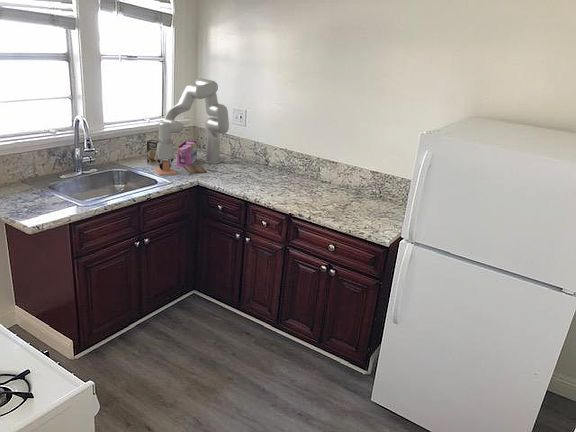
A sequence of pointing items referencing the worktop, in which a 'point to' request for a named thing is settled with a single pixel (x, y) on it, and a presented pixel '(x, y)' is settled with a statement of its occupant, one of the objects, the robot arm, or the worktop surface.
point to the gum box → (187, 153)
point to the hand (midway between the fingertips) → (165, 168)
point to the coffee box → (152, 152)
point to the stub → (165, 169)
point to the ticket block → (195, 169)
